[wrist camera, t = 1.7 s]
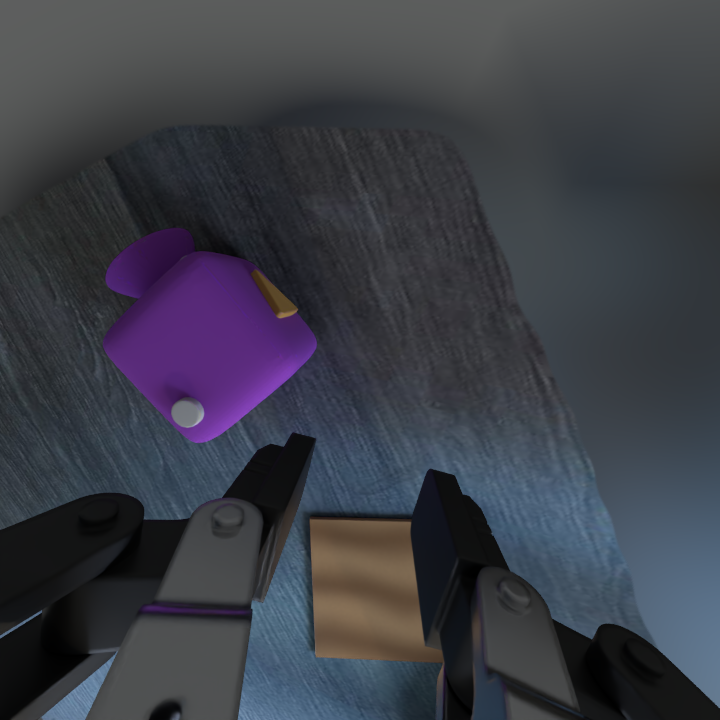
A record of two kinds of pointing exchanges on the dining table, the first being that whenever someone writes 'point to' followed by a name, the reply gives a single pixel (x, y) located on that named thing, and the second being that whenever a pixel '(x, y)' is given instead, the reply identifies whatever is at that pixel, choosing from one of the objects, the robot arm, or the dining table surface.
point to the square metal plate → (366, 591)
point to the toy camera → (202, 332)
